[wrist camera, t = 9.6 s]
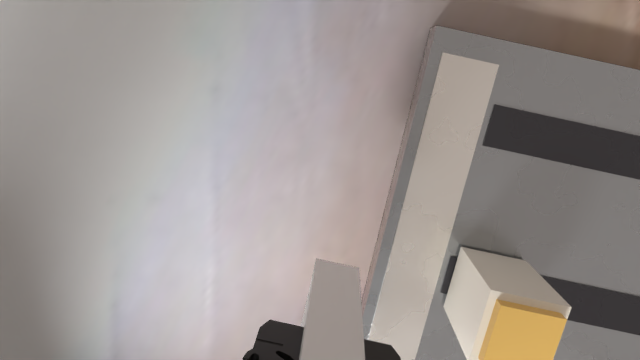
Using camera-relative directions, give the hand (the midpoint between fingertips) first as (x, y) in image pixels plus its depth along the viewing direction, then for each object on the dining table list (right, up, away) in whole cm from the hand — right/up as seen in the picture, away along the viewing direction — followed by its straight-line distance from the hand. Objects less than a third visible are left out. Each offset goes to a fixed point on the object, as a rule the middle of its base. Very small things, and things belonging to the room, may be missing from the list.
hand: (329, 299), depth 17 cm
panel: (+12, -1, +7) cm, 14 cm away
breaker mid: (+7, -1, +6) cm, 9 cm away
